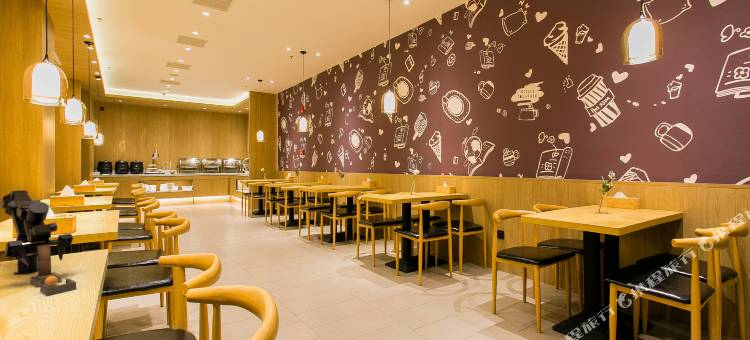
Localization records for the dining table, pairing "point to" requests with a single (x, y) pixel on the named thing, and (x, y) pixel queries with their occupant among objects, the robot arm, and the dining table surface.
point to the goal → (58, 288)
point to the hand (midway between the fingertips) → (45, 262)
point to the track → (36, 283)
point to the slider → (44, 263)
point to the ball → (51, 281)
